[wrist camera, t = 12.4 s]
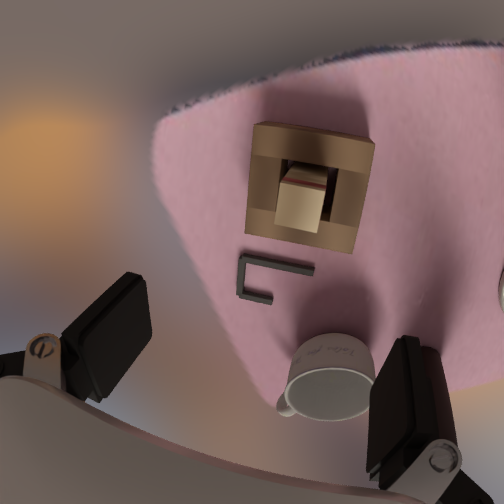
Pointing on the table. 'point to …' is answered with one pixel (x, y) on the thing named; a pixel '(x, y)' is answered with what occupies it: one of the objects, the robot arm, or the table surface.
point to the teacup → (329, 379)
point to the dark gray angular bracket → (266, 263)
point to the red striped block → (302, 196)
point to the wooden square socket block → (316, 152)
